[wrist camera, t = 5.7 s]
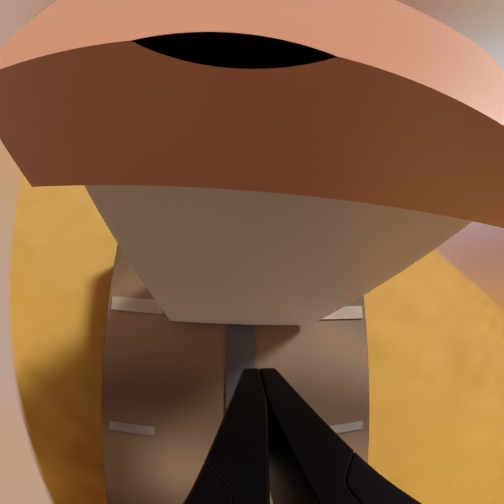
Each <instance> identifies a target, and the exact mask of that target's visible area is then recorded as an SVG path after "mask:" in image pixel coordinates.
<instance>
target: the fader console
mask: <svg viewBox="0 0 504 504" xmlns="http://www.w3.org/2000/svg"><path fill="white" fill-rule="evenodd" d="M244 368H258V369H259V370H260V369H261V368H275V369H276V370H277V371H278V372H279V373H280V374H281V375H282V376H283V377H284V378H285V379H286V381H287V382H288V383H289V384H290V385H291V386H292V387H293V388H294V389H295V390H296V391H297V392H298V394H299V395H300V396H301V397H302V398H303V399H304V400H305V401H306V402H307V403H308V404H309V405H310V406H311V407H312V408H313V410H314V411H315V412H316V413H317V414H318V415H319V416H320V417H321V418H322V419H323V420H324V421H325V422H326V423H327V424H328V425H329V426H330V427H331V428H332V429H333V430H334V431H335V432H336V433H337V434H338V435H339V436H340V437H341V438H342V439H343V440H344V441H345V442H346V443H347V444H348V445H349V446H350V447H351V448H352V449H353V450H354V453H355V452H356V453H357V454H358V455H359V456H360V457H361V458H362V459H363V460H364V461H365V462H366V463H368V445H369V368H368V347H367V332H366V319H365V308H364V297H363V296H361V297H360V298H358V299H356V300H354V301H353V302H351V303H349V304H348V305H346V306H344V307H342V308H341V309H339V310H337V311H335V312H334V313H332V314H330V315H328V316H327V317H325V318H323V319H321V320H319V321H317V322H316V323H314V324H312V325H243V324H217V323H198V322H182V321H170V320H169V318H168V317H167V316H166V314H165V313H164V311H163V310H162V309H161V307H160V306H159V305H158V303H157V302H156V300H155V299H154V297H153V296H152V295H151V293H150V292H149V290H148V289H147V287H146V286H145V284H144V283H143V281H142V280H141V278H140V277H139V275H138V274H137V272H136V271H135V269H134V268H133V266H132V265H131V263H130V262H129V260H128V259H127V257H126V255H125V254H124V252H123V251H122V249H121V248H120V246H119V244H118V246H117V251H116V256H115V262H114V268H113V274H112V281H111V288H110V295H109V302H108V311H107V319H106V329H105V340H104V354H103V371H102V447H103V463H104V475H105V485H106V494H107V502H108V504H183V502H184V501H185V499H186V497H187V496H188V494H189V492H190V490H191V488H192V487H193V485H194V483H195V481H196V479H197V477H198V474H199V472H200V470H201V468H202V465H203V464H204V461H205V459H206V457H207V455H208V452H209V450H210V448H211V445H212V443H213V441H214V438H215V436H216V434H217V431H218V429H219V427H220V424H221V422H222V420H223V417H224V415H225V412H226V410H227V408H228V405H229V403H230V400H231V398H232V396H233V393H234V391H235V388H236V386H237V383H238V381H239V378H240V376H241V373H242V371H243V369H244ZM270 504H273V502H272V497H271V493H270Z"/></svg>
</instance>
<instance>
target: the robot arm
mask: <svg viewBox="0 0 504 504" xmlns="http://www.w3.org/2000/svg"><path fill="white" fill-rule="evenodd" d="M270 493H271V497H272V502H273V504H421V503H420V502H418V501H417V500H415V499H414V498H412V497H411V496H409V495H408V494H406V493H405V492H403V491H402V490H400V489H399V488H397V487H396V486H395V485H393V484H392V483H391V482H389V481H388V480H387V479H385V478H384V477H383V476H381V475H380V474H379V473H378V472H377V471H375V470H374V469H373V468H372V467H371V466H370V465H369V464H368V463H366V462H365V461H364V460H363V459H362V458H361V457H360V456H359V455H358V454H357V453H356V452H355V453H354V450H353V449H352V448H351V447H350V446H349V445H348V444H347V443H346V442H345V441H344V440H343V439H342V438H341V437H340V436H339V435H338V434H337V433H336V432H335V431H334V430H333V429H332V428H331V427H330V426H329V425H328V424H327V423H326V422H325V421H324V420H323V419H322V418H321V417H320V416H319V415H318V414H317V413H316V412H315V411H314V410H313V408H312V407H311V406H310V405H309V404H308V403H307V402H306V401H305V400H304V399H303V398H302V397H301V396H300V395H299V394H298V392H297V391H296V390H295V389H294V388H293V387H292V386H291V385H290V384H289V383H288V382H287V381H286V379H285V378H284V377H283V376H282V375H281V374H280V373H279V372H278V371H277V370H276V369H275V368H261V369H260V370H259V369H258V368H244V369H243V371H242V373H241V376H240V378H239V381H238V383H237V386H236V388H235V391H234V393H233V396H232V398H231V400H230V403H229V405H228V408H227V410H226V412H225V415H224V417H223V420H222V422H221V424H220V427H219V429H218V431H217V434H216V436H215V438H214V441H213V443H212V445H211V448H210V450H209V452H208V455H207V457H206V459H205V461H204V464H203V465H202V468H201V470H200V472H199V474H198V477H197V479H196V481H195V483H194V485H193V487H192V488H191V490H190V492H189V494H188V496H187V497H186V499H185V501H184V502H183V504H270Z"/></svg>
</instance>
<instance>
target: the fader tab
mask: <svg viewBox="0 0 504 504" xmlns="http://www.w3.org/2000/svg"><path fill="white" fill-rule="evenodd" d="M0 139H1V141H2V142H3V144H4V146H5V147H6V149H7V150H8V152H9V153H10V155H11V156H12V158H13V160H14V161H15V162H16V164H17V165H18V167H19V168H20V170H21V171H22V173H23V174H24V176H25V177H26V179H27V180H28V181H29V183H30V184H31V186H32V187H35V186H65V185H85V187H86V189H87V191H88V193H89V195H90V196H91V198H92V200H93V202H94V204H95V205H96V207H97V209H98V211H99V212H100V214H101V216H102V218H103V219H104V221H105V223H106V224H107V226H108V228H109V230H110V231H111V233H112V235H113V236H114V238H115V239H116V241H117V243H118V244H119V246H120V248H121V249H122V251H123V252H124V254H125V255H126V257H127V259H128V260H129V262H130V263H131V265H132V266H133V268H134V269H135V271H136V272H137V274H138V275H139V277H140V278H141V280H142V281H143V283H144V284H145V286H146V287H147V289H148V290H149V292H150V293H151V295H152V296H153V297H154V299H155V300H156V302H157V303H158V305H159V306H160V307H161V309H162V310H163V311H164V313H165V314H166V316H167V317H168V318H169V320H170V321H182V322H198V323H217V324H243V325H312V324H314V323H316V322H317V321H319V320H321V319H323V318H325V317H327V316H328V315H330V314H332V313H334V312H335V311H337V310H339V309H341V308H342V307H344V306H346V305H348V304H349V303H351V302H353V301H354V300H356V299H358V298H360V297H361V296H363V295H365V294H366V293H368V292H370V291H371V290H373V289H374V288H376V287H378V286H379V285H381V284H383V283H384V282H386V281H387V280H389V279H390V278H392V277H394V276H395V275H397V274H398V273H400V272H401V271H403V270H404V269H406V268H407V267H409V266H410V265H412V264H414V263H415V262H416V261H418V260H419V259H421V258H422V257H424V256H425V255H427V254H428V253H430V252H431V251H433V250H434V249H435V248H437V247H438V246H440V245H441V244H443V243H444V242H445V241H447V240H448V239H449V238H451V237H452V236H454V235H455V234H456V233H458V232H459V231H460V230H462V229H463V228H464V227H466V226H467V225H468V224H470V223H471V222H472V221H475V222H480V223H484V224H489V225H493V226H498V227H502V228H504V70H503V69H502V68H501V67H500V65H499V64H498V63H497V62H496V61H495V60H494V59H493V58H492V57H491V56H490V55H489V54H488V53H487V52H486V51H485V50H484V49H483V48H482V47H480V46H479V45H478V44H476V43H475V42H473V41H471V40H470V39H468V38H467V37H465V36H463V35H462V34H460V33H459V32H457V31H455V30H454V29H452V28H450V27H449V26H447V25H445V24H443V23H441V22H440V21H438V20H436V19H434V18H432V17H430V16H428V15H426V14H424V13H422V12H420V11H418V10H416V9H414V8H411V7H410V6H407V5H405V4H403V3H400V2H398V1H396V0H58V1H56V2H55V3H53V4H52V5H51V6H49V7H48V8H47V9H45V10H44V11H43V12H41V13H40V14H39V15H37V16H36V17H35V18H34V19H33V20H31V21H30V22H29V23H28V24H26V25H25V26H24V27H23V28H22V29H21V30H19V31H18V32H17V33H16V34H15V35H14V36H13V37H12V38H11V39H10V40H8V41H7V42H6V43H5V44H4V45H3V46H2V47H1V48H0Z"/></svg>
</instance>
